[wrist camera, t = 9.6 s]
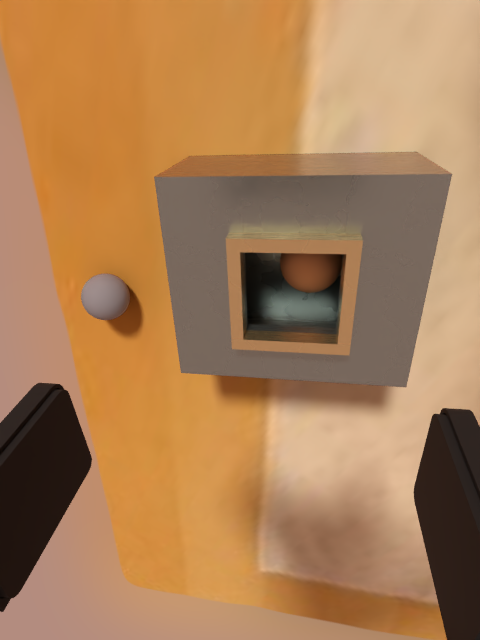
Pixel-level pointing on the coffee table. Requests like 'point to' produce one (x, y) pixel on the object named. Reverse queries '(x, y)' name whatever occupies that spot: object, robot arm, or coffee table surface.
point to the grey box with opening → (300, 237)
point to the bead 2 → (310, 270)
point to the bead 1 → (105, 296)
